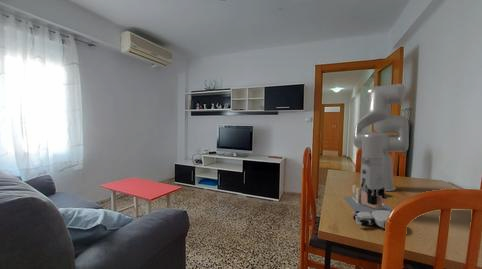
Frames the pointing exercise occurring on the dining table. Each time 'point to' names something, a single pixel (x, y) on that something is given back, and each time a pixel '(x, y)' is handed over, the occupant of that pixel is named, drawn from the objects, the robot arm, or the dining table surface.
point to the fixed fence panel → (357, 194)
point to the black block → (382, 193)
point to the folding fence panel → (377, 206)
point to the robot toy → (371, 217)
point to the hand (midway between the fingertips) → (372, 203)
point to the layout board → (363, 206)
